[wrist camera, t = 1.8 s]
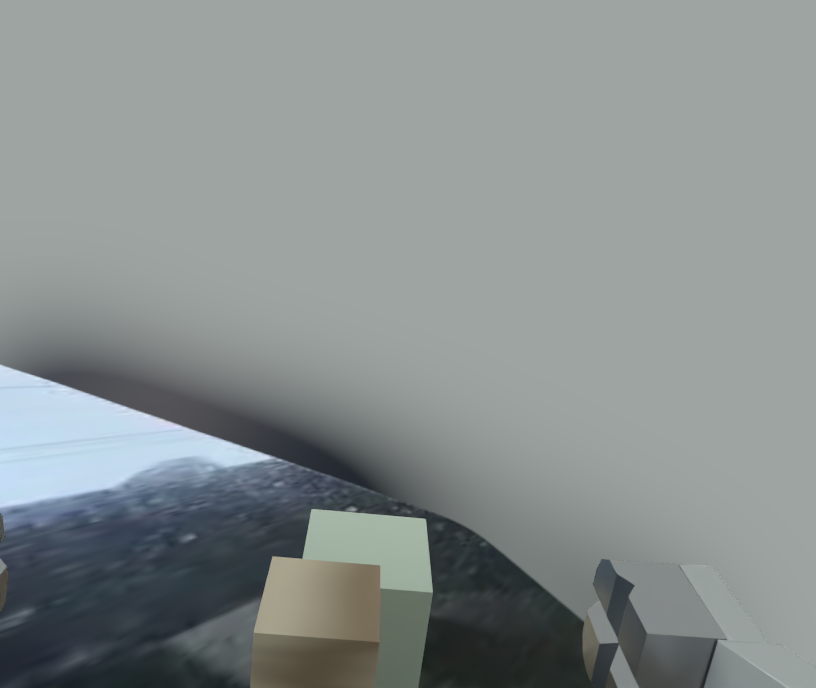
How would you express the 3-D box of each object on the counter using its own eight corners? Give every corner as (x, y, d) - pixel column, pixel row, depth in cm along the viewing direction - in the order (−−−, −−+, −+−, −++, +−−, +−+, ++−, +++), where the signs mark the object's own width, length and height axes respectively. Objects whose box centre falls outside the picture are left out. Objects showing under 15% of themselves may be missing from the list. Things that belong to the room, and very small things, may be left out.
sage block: (289, 689, 33) (298, 581, 31) (303, 604, 39) (311, 509, 37) (416, 698, 34) (432, 592, 32) (412, 612, 39) (425, 519, 37)
